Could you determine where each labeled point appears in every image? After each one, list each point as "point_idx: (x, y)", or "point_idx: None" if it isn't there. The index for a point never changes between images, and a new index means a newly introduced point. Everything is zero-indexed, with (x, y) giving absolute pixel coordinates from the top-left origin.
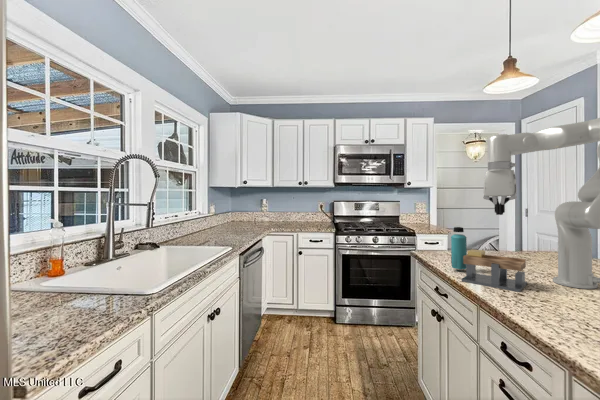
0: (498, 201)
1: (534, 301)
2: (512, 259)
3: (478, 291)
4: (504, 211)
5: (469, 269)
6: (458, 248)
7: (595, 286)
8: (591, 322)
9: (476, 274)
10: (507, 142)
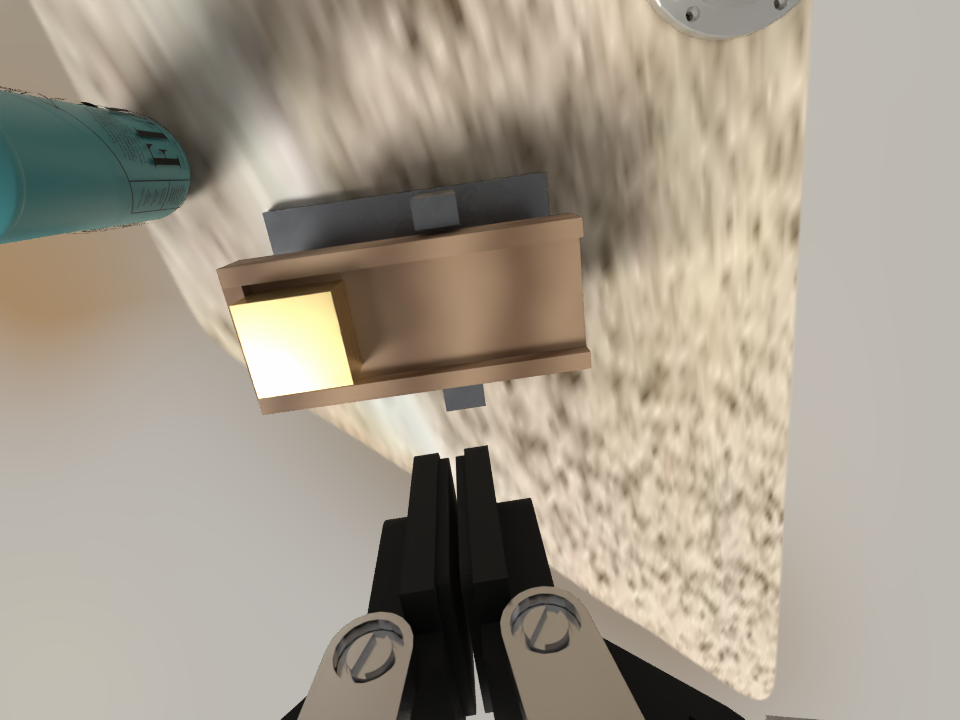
0: (406, 677)
1: (627, 419)
2: (507, 245)
3: None
4: (533, 513)
5: None
6: (69, 230)
7: None
8: (779, 482)
9: (302, 235)
10: None
